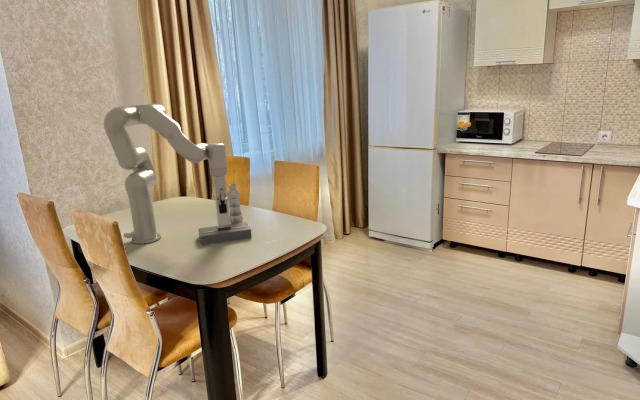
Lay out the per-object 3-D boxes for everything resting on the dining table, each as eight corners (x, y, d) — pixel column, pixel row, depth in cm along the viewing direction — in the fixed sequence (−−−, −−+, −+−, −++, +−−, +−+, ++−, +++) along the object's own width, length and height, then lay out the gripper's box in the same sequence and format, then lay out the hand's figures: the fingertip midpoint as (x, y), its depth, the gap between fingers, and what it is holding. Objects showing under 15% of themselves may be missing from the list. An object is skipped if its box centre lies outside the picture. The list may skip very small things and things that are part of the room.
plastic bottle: (240, 226, 217) (236, 186, 212) (227, 225, 218) (223, 186, 213) (245, 222, 223) (241, 183, 218) (232, 221, 225) (228, 183, 220)
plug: (218, 225, 198) (215, 191, 194) (217, 223, 201) (214, 189, 197) (230, 224, 199) (226, 189, 195) (228, 222, 203) (225, 188, 199)
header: (201, 245, 193) (200, 235, 192) (199, 236, 204) (198, 227, 203) (251, 237, 200) (250, 228, 199) (246, 229, 211) (245, 221, 210)
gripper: (208, 169, 201) (212, 208, 205) (212, 175, 185) (216, 217, 190) (224, 167, 203) (228, 206, 208) (230, 174, 188) (233, 215, 192)
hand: (222, 211), depth 199 cm, fingers closed on plug, 4 cm apart
